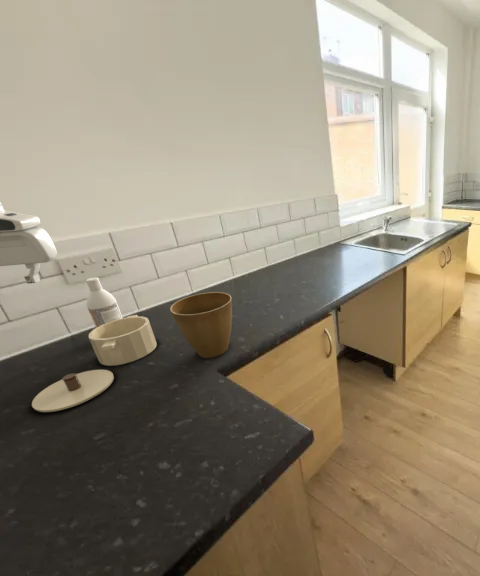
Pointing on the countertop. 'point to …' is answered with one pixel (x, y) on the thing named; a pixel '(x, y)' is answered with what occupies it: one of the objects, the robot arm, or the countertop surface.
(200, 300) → the plant pot
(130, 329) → the pot
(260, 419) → the countertop surface
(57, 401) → the lid
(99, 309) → the bath foam
